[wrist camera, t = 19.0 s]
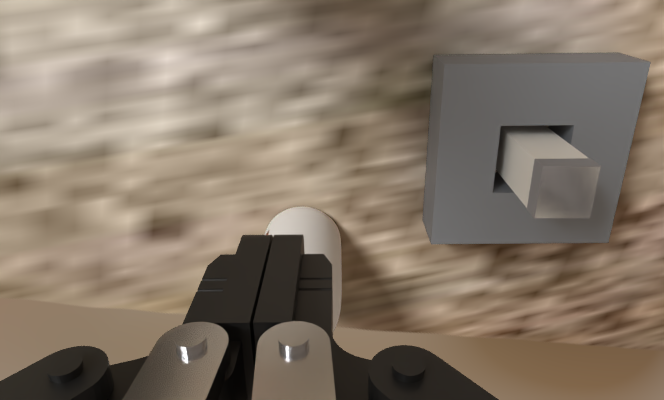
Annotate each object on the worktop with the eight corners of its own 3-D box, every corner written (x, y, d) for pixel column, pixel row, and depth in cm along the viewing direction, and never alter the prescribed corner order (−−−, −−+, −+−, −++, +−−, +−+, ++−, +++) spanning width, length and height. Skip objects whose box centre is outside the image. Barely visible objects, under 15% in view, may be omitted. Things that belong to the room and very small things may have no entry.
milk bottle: (283, 191, 50) (254, 317, 32) (354, 223, 52) (364, 361, 33) (253, 253, 53) (210, 401, 35) (320, 281, 54) (313, 438, 36)
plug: (494, 120, 47) (542, 166, 36) (539, 120, 47) (601, 166, 36) (489, 163, 49) (533, 218, 38) (532, 162, 49) (589, 218, 38)
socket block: (433, 54, 45) (444, 64, 40) (618, 52, 45) (650, 62, 40) (422, 219, 51) (431, 244, 47) (583, 218, 51) (608, 242, 47)
